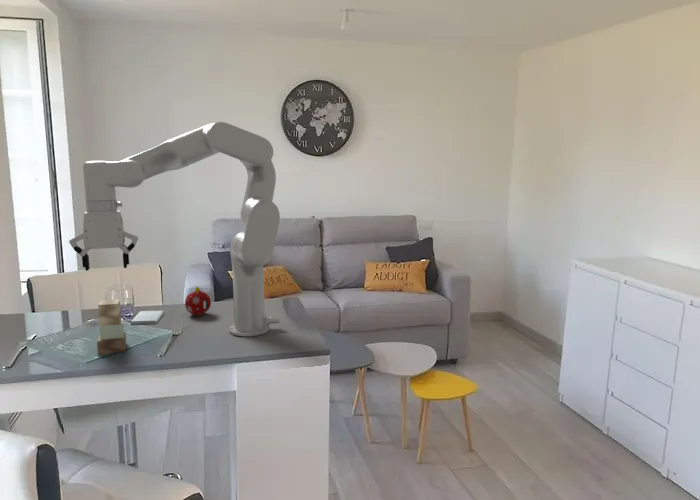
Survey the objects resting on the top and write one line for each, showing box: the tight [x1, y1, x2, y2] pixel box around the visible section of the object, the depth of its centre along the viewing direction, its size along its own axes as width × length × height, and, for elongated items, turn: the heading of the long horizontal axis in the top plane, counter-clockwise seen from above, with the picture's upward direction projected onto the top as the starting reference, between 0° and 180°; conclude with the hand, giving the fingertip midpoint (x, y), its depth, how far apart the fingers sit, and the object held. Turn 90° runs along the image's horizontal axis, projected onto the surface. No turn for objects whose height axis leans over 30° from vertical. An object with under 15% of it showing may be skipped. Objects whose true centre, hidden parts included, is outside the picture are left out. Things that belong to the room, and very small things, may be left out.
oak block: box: [97, 298, 122, 327], centre depth 153 cm, size 5×5×6 cm
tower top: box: [99, 317, 125, 340], centre depth 155 cm, size 6×6×4 cm
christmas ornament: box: [184, 286, 212, 316], centre depth 188 cm, size 9×9×10 cm
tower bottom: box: [96, 330, 127, 355], centre depth 155 cm, size 7×7×4 cm
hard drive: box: [130, 310, 165, 325], centre depth 184 cm, size 2×8×12 cm
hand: (106, 268), depth 151 cm, fingers open, 9 cm apart
